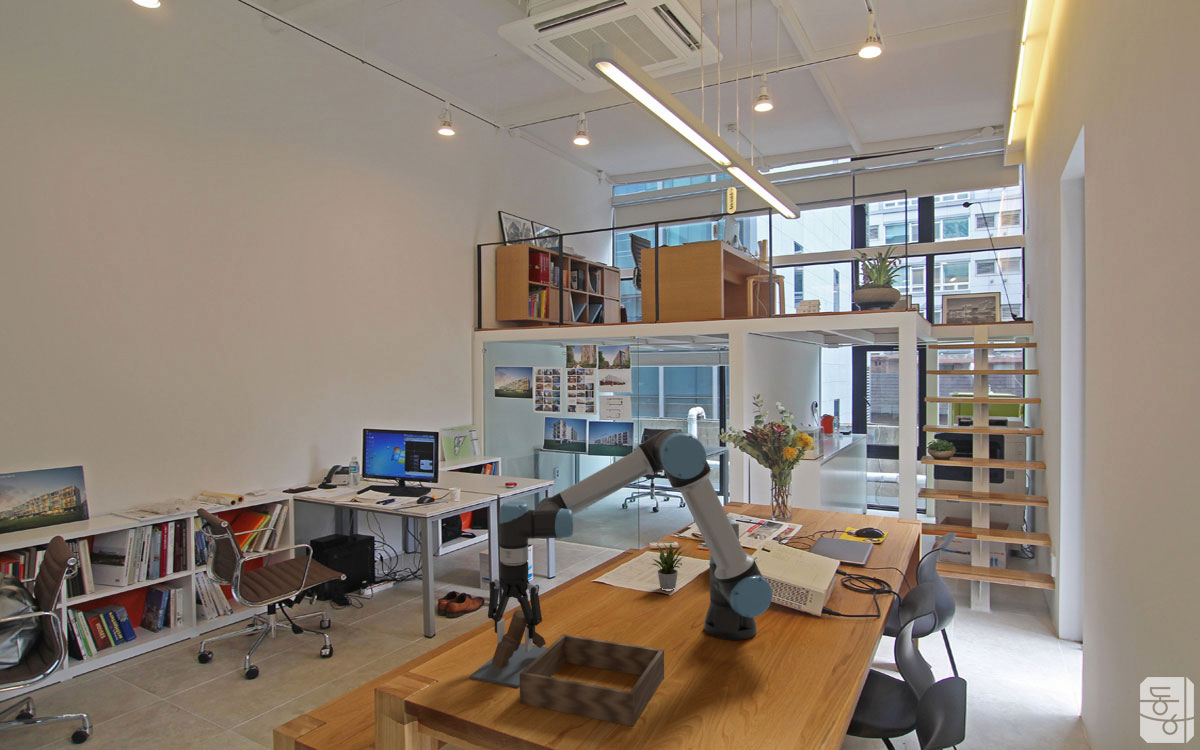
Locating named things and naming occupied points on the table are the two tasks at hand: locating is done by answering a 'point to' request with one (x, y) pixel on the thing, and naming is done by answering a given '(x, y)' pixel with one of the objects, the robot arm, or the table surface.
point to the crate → (587, 697)
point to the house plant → (668, 567)
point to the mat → (508, 667)
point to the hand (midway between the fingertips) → (514, 647)
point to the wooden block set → (513, 640)
